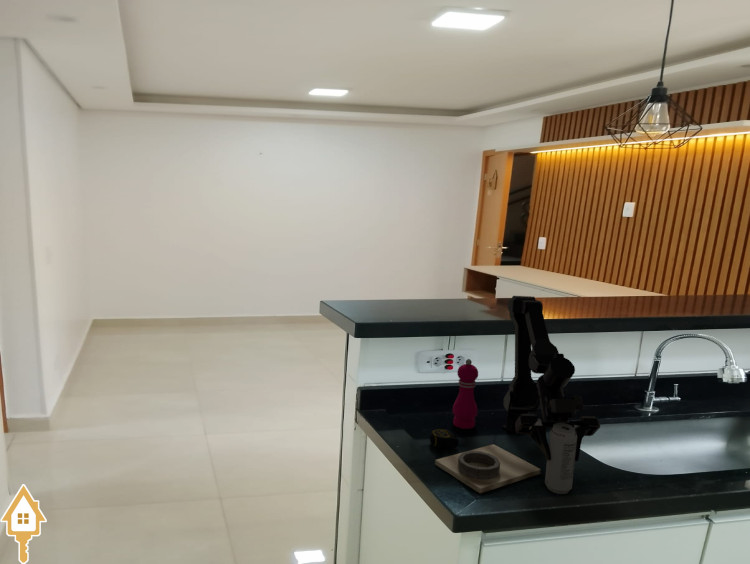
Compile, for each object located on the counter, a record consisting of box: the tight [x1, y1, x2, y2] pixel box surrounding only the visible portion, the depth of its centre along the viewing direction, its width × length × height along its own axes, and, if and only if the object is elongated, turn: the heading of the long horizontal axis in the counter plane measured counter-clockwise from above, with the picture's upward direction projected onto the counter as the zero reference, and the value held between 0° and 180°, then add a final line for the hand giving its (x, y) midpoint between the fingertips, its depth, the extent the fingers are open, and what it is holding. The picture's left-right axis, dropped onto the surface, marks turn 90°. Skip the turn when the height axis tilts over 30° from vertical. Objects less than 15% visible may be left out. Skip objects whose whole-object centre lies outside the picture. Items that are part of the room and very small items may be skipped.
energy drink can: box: [544, 423, 577, 495], centre depth 131 cm, size 6×6×15 cm
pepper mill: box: [452, 358, 479, 430], centre depth 166 cm, size 7×7×20 cm
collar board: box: [434, 443, 541, 494], centre depth 139 cm, size 20×16×4 cm
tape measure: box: [429, 428, 460, 450], centre depth 152 cm, size 7×7×4 cm
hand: (563, 460), depth 129 cm, fingers closed on energy drink can, 6 cm apart
